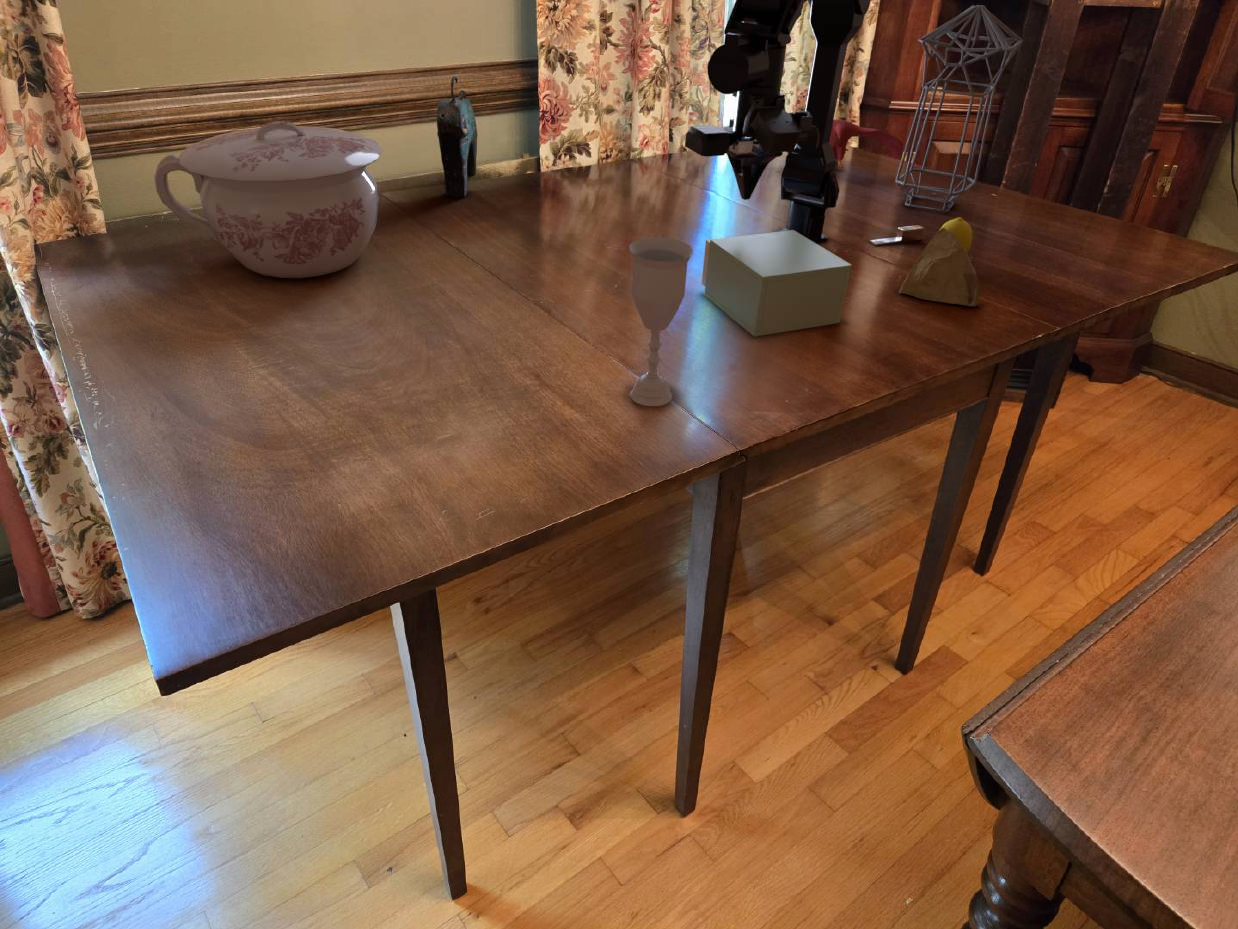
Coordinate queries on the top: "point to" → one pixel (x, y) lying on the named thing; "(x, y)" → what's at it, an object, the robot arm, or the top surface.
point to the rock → (943, 273)
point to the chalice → (657, 304)
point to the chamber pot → (282, 196)
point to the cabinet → (776, 282)
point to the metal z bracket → (902, 235)
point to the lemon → (960, 231)
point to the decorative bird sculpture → (846, 130)
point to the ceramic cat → (457, 141)
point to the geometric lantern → (934, 39)
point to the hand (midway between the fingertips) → (745, 198)
